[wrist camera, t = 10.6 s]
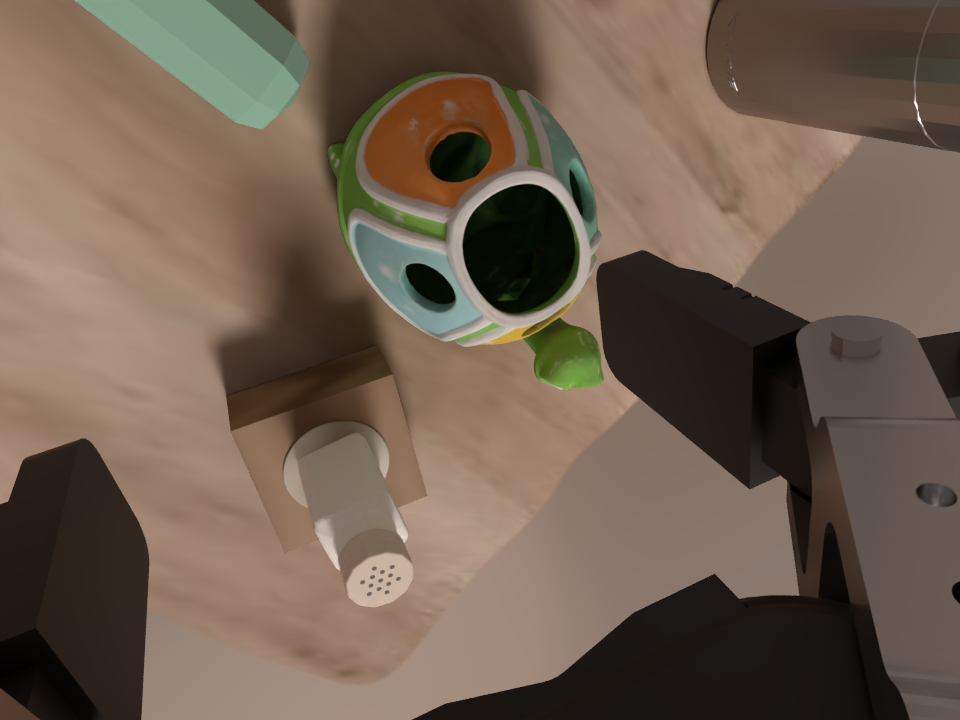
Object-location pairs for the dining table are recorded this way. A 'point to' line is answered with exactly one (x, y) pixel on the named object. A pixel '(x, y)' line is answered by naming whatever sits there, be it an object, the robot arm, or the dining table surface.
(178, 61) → the container
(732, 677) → the robot arm
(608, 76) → the dining table surface
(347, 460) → the salt shaker
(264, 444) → the base
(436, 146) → the turtle holder
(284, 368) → the dining table surface
